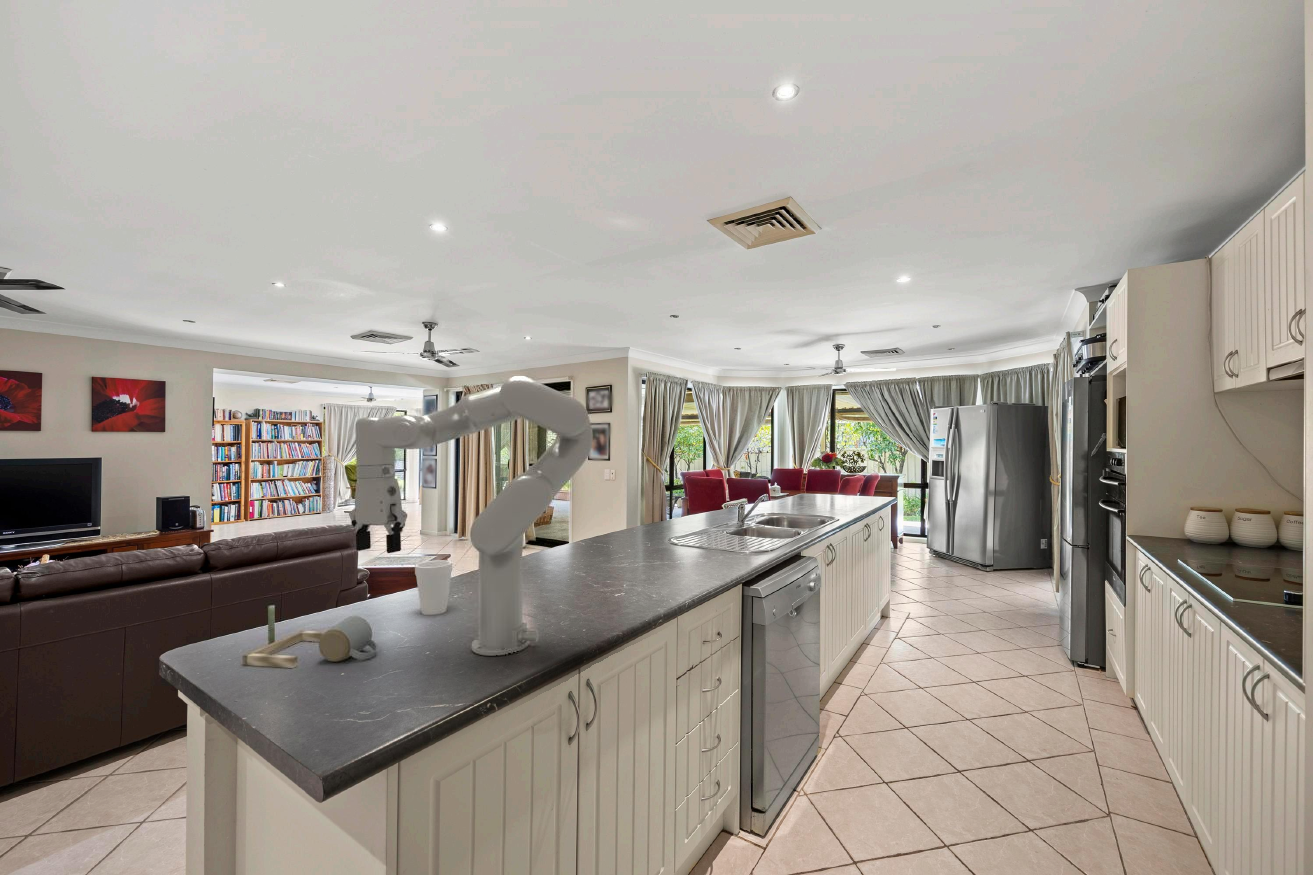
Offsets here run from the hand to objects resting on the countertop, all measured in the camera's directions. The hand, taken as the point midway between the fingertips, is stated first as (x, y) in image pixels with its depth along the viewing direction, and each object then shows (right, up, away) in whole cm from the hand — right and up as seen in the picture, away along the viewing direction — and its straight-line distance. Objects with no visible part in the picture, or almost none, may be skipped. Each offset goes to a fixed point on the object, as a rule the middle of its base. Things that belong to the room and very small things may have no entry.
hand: (378, 550), depth 122 cm
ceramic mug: (-5, -23, -2) cm, 23 cm away
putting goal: (-18, -23, 0) cm, 29 cm away
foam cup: (0, -23, +30) cm, 37 cm away
